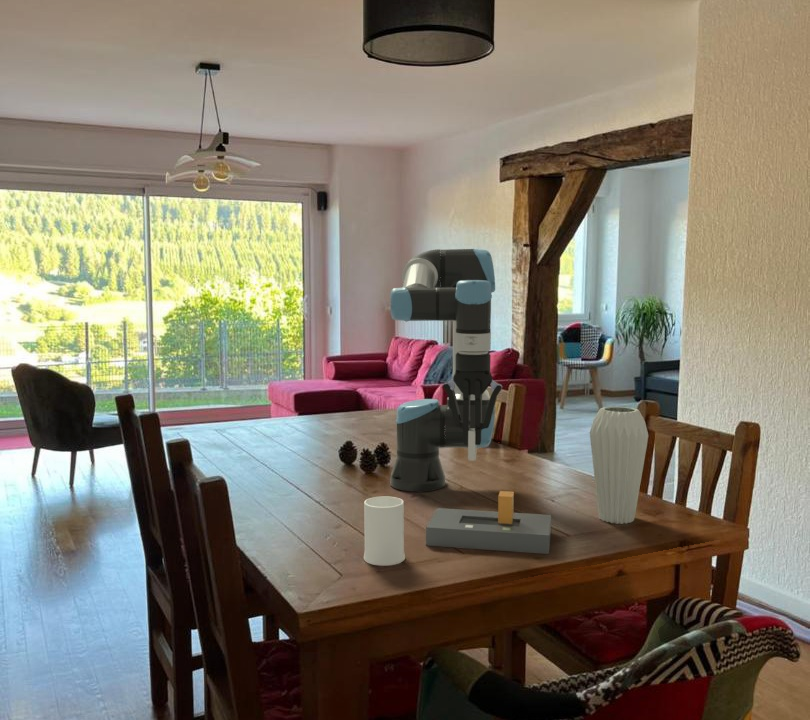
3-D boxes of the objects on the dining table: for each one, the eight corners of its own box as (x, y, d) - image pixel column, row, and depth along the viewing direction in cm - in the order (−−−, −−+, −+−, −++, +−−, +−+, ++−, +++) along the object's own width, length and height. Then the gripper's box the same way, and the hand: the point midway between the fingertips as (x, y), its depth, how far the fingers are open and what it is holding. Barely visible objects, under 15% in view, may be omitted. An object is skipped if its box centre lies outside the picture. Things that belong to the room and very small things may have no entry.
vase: (636, 531, 178) (640, 416, 175) (579, 521, 185) (582, 411, 182) (652, 515, 190) (655, 407, 187) (598, 507, 197) (600, 402, 194)
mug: (351, 550, 167) (350, 495, 166) (387, 543, 171) (387, 489, 169) (373, 568, 157) (373, 510, 155) (412, 561, 160) (412, 504, 159)
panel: (426, 545, 170) (426, 526, 169) (436, 524, 183) (437, 507, 183) (548, 553, 164) (549, 534, 164) (550, 532, 178) (551, 514, 178)
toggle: (498, 523, 171) (498, 496, 170) (499, 517, 175) (500, 491, 174) (511, 523, 170) (512, 496, 170) (513, 518, 174) (513, 491, 174)
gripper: (440, 353, 168) (440, 461, 171) (501, 355, 165) (500, 464, 168) (445, 349, 175) (445, 453, 178) (504, 350, 172) (503, 456, 175)
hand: (472, 458), depth 173 cm, fingers closed
